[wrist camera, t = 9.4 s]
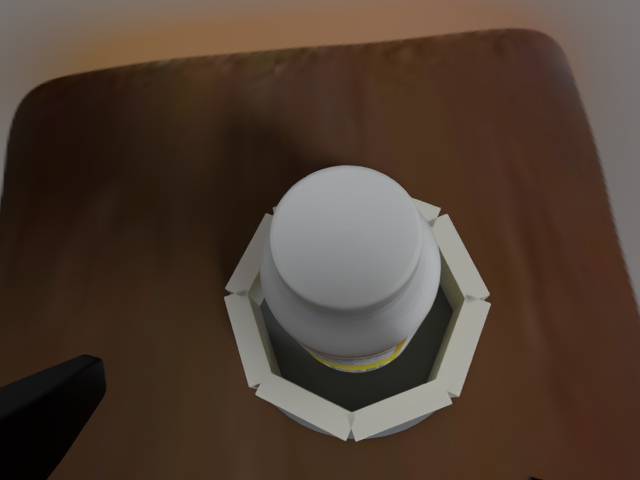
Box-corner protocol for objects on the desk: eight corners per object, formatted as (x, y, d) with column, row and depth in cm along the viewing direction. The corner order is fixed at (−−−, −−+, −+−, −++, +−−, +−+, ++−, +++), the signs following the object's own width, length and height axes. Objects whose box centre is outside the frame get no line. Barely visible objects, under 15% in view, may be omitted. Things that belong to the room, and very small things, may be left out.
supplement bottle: (359, 235, 22) (356, 102, 12) (439, 320, 20) (508, 239, 11) (271, 307, 21) (196, 222, 12) (347, 402, 19) (331, 395, 10)
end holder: (424, 486, 18) (436, 501, 15) (199, 370, 21) (173, 364, 18) (504, 254, 22) (526, 230, 19) (301, 178, 24) (293, 146, 21)
